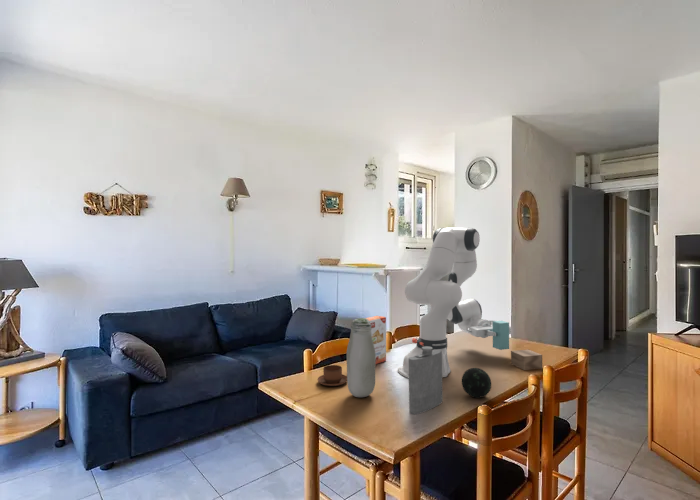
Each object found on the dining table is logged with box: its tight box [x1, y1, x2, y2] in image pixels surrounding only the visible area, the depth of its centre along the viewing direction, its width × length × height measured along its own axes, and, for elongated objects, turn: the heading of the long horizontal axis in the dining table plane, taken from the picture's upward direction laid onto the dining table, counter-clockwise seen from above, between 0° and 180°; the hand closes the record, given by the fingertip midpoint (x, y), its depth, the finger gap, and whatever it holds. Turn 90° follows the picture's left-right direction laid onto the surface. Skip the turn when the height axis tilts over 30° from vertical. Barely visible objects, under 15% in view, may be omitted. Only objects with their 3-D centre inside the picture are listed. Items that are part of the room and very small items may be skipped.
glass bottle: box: [346, 317, 376, 398], centre depth 140 cm, size 10×10×28 cm
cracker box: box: [365, 315, 387, 365], centre depth 179 cm, size 14×6×21 cm, turn 136°
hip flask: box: [408, 346, 444, 415], centre depth 130 cm, size 16×4×20 cm, turn 132°
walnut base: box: [510, 349, 543, 371], centre depth 172 cm, size 9×9×6 cm
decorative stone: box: [461, 367, 492, 399], centre depth 138 cm, size 10×10×10 cm
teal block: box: [492, 320, 510, 351], centre depth 179 cm, size 5×5×12 cm
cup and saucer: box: [317, 364, 347, 387], centre depth 154 cm, size 12×12×6 cm
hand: (502, 334), depth 178 cm, fingers closed on teal block, 5 cm apart
